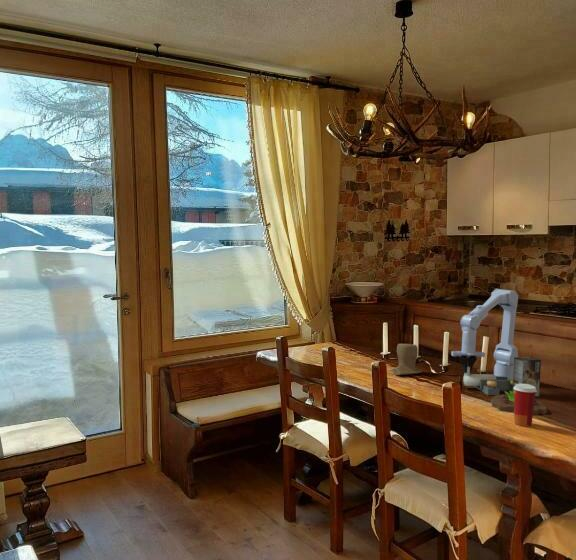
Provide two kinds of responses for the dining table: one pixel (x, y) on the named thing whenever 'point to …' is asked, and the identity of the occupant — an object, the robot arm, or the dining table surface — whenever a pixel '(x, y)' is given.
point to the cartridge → (475, 378)
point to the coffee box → (527, 372)
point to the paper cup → (524, 404)
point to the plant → (507, 403)
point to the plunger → (492, 384)
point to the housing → (502, 386)
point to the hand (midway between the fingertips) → (467, 372)
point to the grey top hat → (406, 360)
